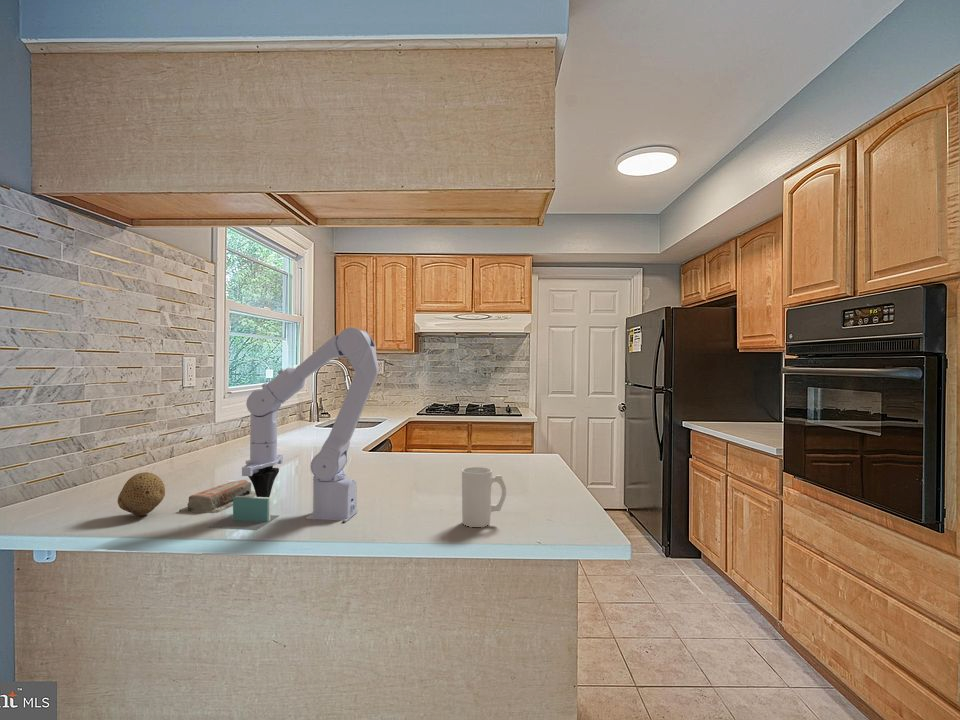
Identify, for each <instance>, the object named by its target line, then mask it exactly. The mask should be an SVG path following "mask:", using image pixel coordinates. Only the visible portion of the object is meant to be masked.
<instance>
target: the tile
mask: <svg viewBox="0 0 960 720" xmlns="http://www.w3.org/2000/svg"><path fill="white" fill-rule="evenodd" d="M271 498H272V497H271V496H270V497H256V496H254V497H247V496H236V497H234V498H233V506H232V515H233V520H238V521H259V522H268V521H270V515H271V502H272V501H271Z"/></svg>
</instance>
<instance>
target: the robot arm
mask: <svg viewBox="0 0 960 720" xmlns="http://www.w3.org/2000/svg"><path fill="white" fill-rule="evenodd" d="M376 348H377V347H376V343H375V341H374V339H373V338H372V337H371V335H370V333H368V332H367V331H366V330H363V329H358V328H357V327H345V329H343V330H341V331H340V332H339V334H335V335H333V336H332V337H331V338H330V339H328V340H326V341H325V342H324V343H323V344H322V345H321V346H320V347H319V348H318V349H316V350H315V351H314V352H313V353H311V354H310V356H308V357H307V358H306V359H305V360H304V361H302V363H300V364H299V365H298V366H296V368H294V367H287V368H281V369H280V370H279V371H277V374H278V375H277V376H275V377H274V378H272V379H271V380H270V381H269V382H264V383H262V385H261V388H262V389H257V390H253V391H252V392H251V393H250V394H249V395H248V397H247V399H246V404H245V405H246V408H247V411H248V412H249V413H250V427H249V429H250V430H249V431H250V433H249V435H250V436H249V439H250V440H249V443H250V444H249V447H250V448H249V459H247V460H245V465H244V466H242V467H241V476H242V477H248V478H249V480H250V482H251V485H252V486H253V489H254V491H255V493H256V496H255V497H270V498H271V492H272V490H273V484H274V483H275V480H276V478H277V476H278V474H279V472H280V468H279V467H274V466H276V465H278V464H279V465H281V464H283V463H284V458H283V457H284V455H283V454H281V455H280V454H278V420H277V418H278V411H279V410H280V408H281V406H282V405H283V404H284V403H285V402H287V401H288V400H290V399H291V398H292V397H293V396H294V395H296V393H298V392H299V391H300V390H302V389H303V388H304V387H305V383H306V379H307V378H308V377H310V376H311V375H312V374H313V373H315V372H317V371H318V370H320V369H321V368H322V367H323V366H324V365H326V364H327V363H329V362H330V361H331V360H333V359H336V358H341V357H346V358H347V359H348V360H349V362H350V364H351V366H352V368H353V370H354V373H355V374H354V375H353V378H352V380H351V383H350V385H349V388H348V390H347V392H346V394H345V397H344V400H343V402H342V405H341V407H340V409H339V412H338V413H337V416H336V418H335V420H334V421H335V422H334V423H333V425H332V428H331V430H330V433H329V435H328V437H327V438H326V440H325V441H324V443H323V445H322V447H321V449H320V451H319V452H318V453H317V454H316V455H314V456H313V458H312V460H311V461H310V472H311V473H312V475H313V479H312V481H313V482H312V513H311V514H310V515H308V516H306V517H305V519H309V520H327V521H328V520H330V521H332V520H334V521H342V523H344V522H347V521H348V520H350V519H351V518H352V517H353V516H354V515H356V514H357V513H358V509H357V503H358V502H357V501H358V500H357V499H358V497H357V495H358V494H357V491H358V490H357V487H358V486H357V482H356V480H355V479H354V478H348V477H346V472H345V470H344V468H345V467H346V465H347V463H348V452H349V448H350V445H351V442H350V441H351V439H352V437H353V435H354V432H355V430H356V428H357V425H358V422H359V420H360V417H361V416H362V413H363V411H364V408H365V406H366V404H367V401H368V399H369V396H370V394H371V392H372V390H373V387H374V385H375V382H376V380H377V377H378V375H379V372H380V370H379V363H378V357H377V351H376Z"/></svg>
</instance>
